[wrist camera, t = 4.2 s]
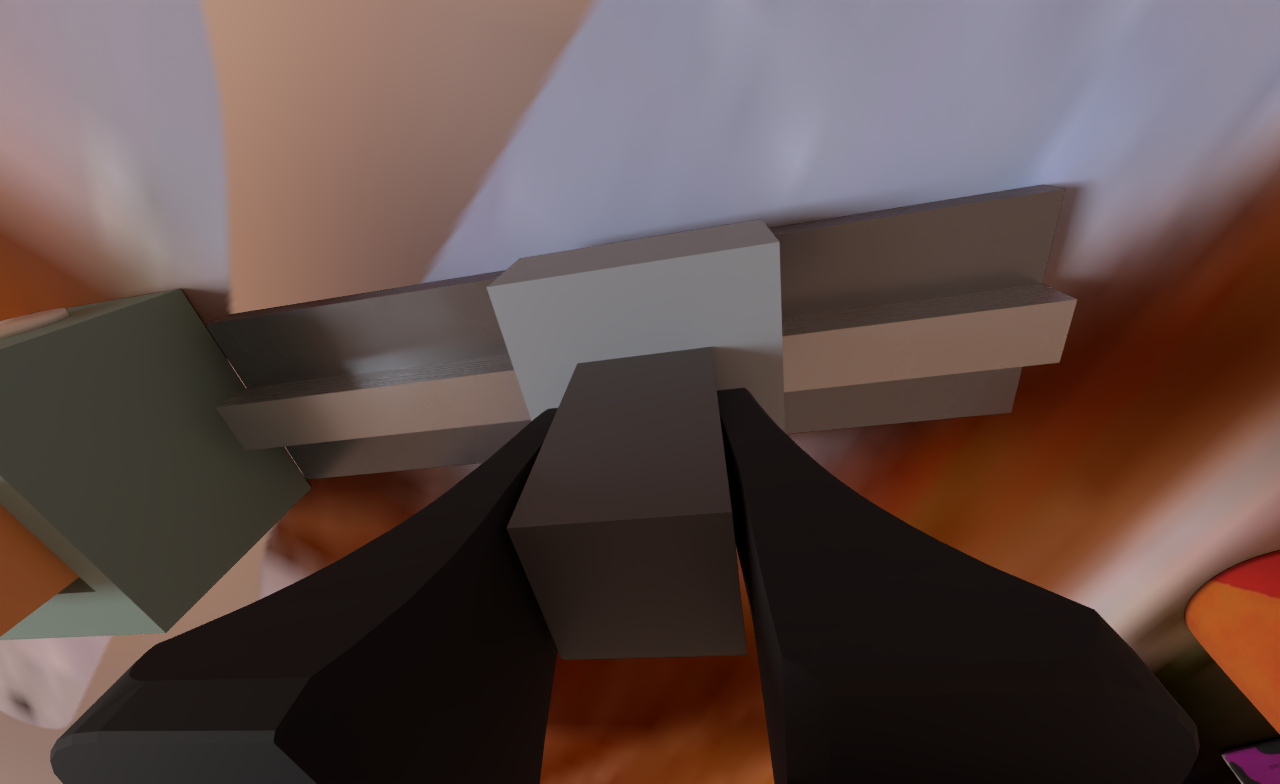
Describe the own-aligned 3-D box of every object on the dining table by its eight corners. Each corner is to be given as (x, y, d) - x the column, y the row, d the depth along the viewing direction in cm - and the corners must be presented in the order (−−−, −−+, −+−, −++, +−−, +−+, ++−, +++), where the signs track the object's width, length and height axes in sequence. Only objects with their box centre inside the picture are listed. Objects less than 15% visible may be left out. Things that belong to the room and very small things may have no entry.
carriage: (772, 456, 15) (843, 721, 8) (583, 473, 15) (512, 724, 9) (760, 219, 11) (867, 353, 5) (519, 258, 12) (336, 415, 6)
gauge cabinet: (311, 488, 18) (165, 633, 13) (181, 500, 19) (-3, 640, 14) (176, 282, 14) (-107, 373, 9) (21, 309, 15) (-316, 406, 10)
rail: (995, 398, 14) (1038, 436, 13) (321, 465, 18) (282, 502, 16) (1041, 185, 11) (1106, 196, 10) (227, 314, 15) (167, 340, 13)
